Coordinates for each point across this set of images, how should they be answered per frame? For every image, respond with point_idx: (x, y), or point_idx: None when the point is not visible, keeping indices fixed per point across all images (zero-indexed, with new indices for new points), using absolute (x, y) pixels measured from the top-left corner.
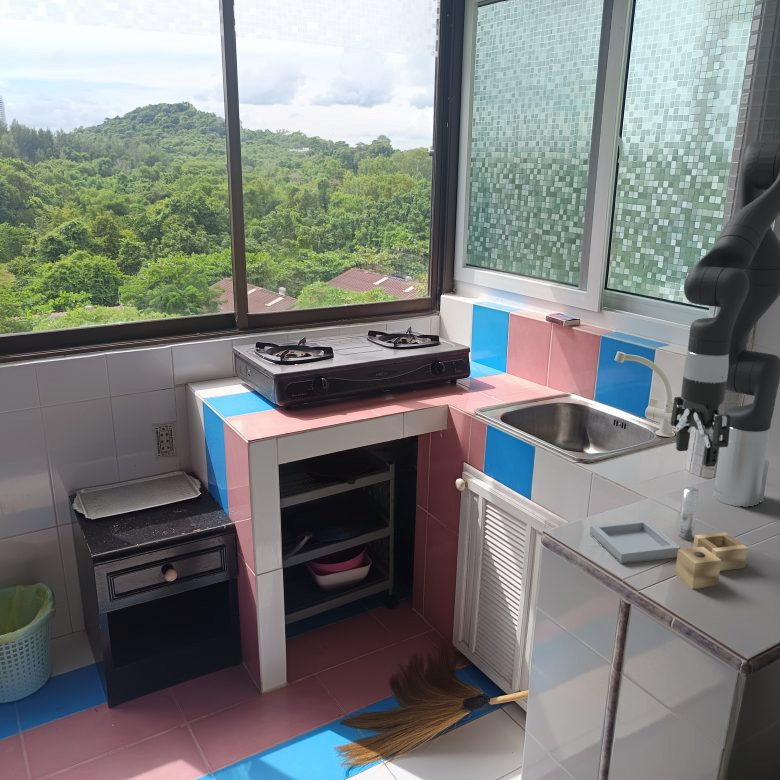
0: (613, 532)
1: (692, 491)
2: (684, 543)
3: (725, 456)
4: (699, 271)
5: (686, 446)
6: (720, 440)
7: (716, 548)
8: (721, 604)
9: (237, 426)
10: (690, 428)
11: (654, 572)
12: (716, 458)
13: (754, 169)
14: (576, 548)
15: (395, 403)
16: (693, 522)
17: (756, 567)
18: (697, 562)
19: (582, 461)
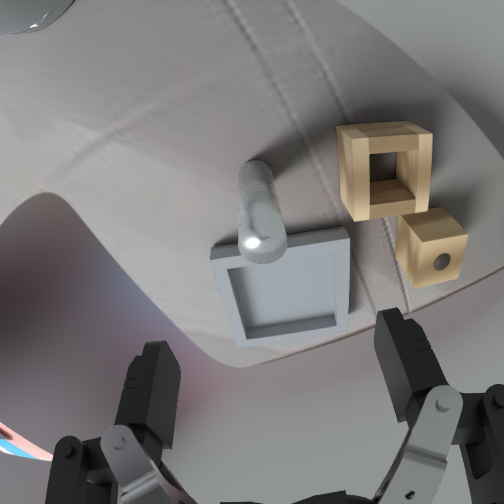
0: (241, 309)
1: (277, 245)
2: (283, 187)
3: None
4: None
5: (163, 361)
6: (458, 421)
7: (417, 204)
8: (474, 225)
9: (49, 460)
10: (142, 449)
11: (376, 280)
12: (427, 344)
13: None
14: (280, 353)
15: None
16: (274, 185)
17: (405, 91)
18: (457, 274)
19: None
